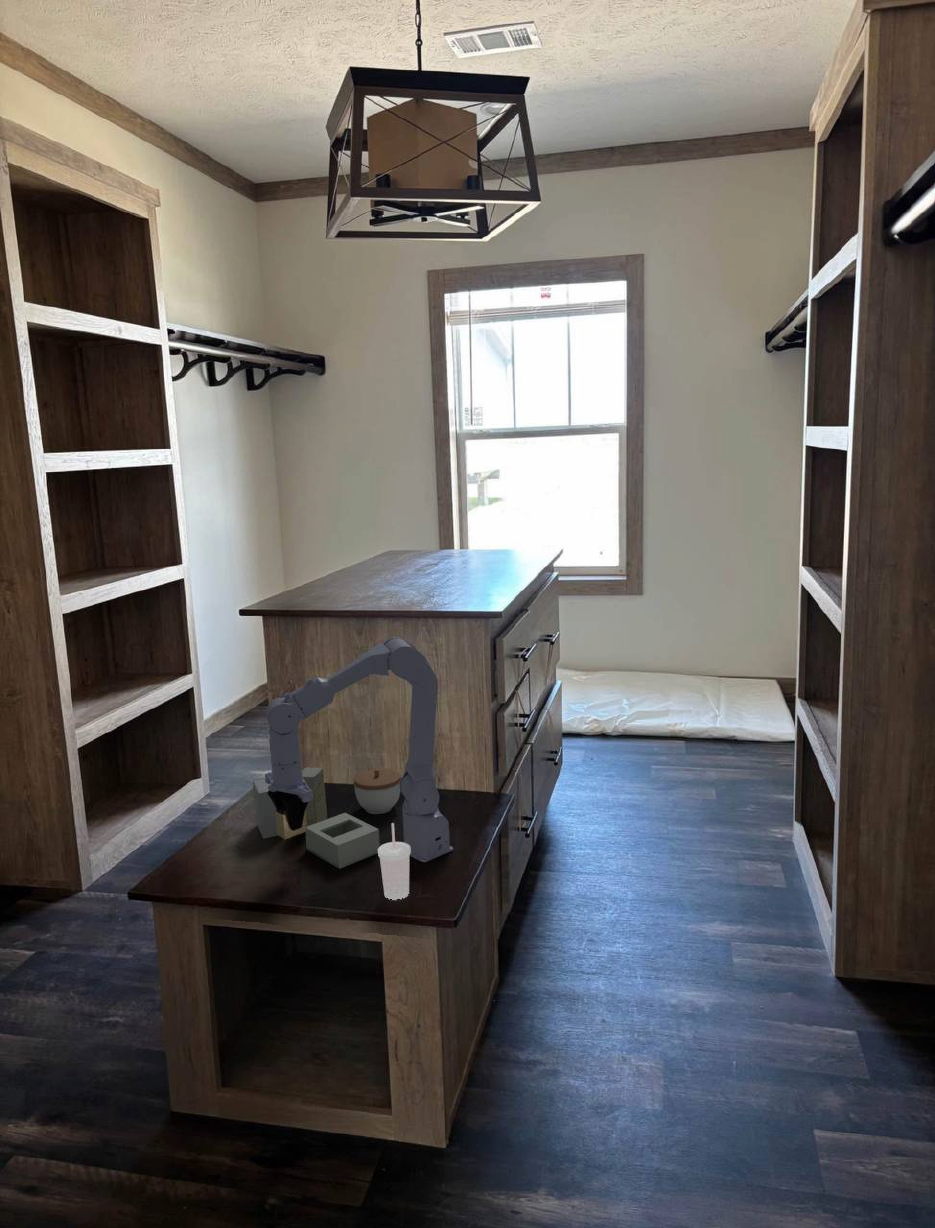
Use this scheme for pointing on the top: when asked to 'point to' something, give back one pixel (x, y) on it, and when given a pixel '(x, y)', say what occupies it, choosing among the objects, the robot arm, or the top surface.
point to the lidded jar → (377, 789)
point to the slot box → (342, 840)
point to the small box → (264, 809)
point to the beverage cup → (395, 868)
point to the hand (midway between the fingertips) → (291, 826)
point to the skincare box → (315, 795)
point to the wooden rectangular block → (287, 825)
